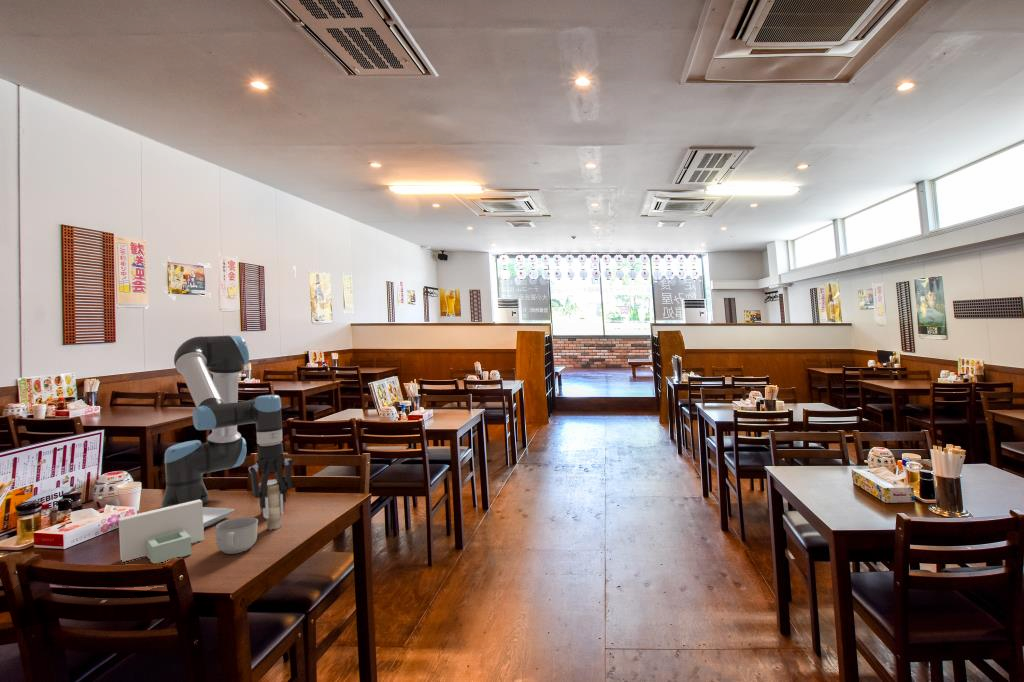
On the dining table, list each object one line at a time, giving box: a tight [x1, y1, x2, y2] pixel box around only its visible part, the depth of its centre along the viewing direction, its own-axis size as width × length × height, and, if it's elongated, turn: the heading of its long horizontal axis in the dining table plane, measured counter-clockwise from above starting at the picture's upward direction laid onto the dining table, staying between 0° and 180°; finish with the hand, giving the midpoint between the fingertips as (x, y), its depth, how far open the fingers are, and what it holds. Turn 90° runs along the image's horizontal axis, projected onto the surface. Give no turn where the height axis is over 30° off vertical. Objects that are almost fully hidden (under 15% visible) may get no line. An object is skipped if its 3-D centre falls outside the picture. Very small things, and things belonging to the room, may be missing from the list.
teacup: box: [215, 516, 259, 555], centre depth 142 cm, size 14×11×8 cm
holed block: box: [146, 529, 193, 564], centre depth 141 cm, size 9×9×5 cm
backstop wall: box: [118, 499, 205, 563], centre depth 146 cm, size 3×20×12 cm, turn 136°
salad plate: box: [203, 506, 235, 529], centre depth 164 cm, size 21×21×3 cm
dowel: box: [266, 483, 282, 531], centre depth 160 cm, size 4×4×14 cm
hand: (273, 515), depth 160 cm, fingers closed on dowel, 4 cm apart
